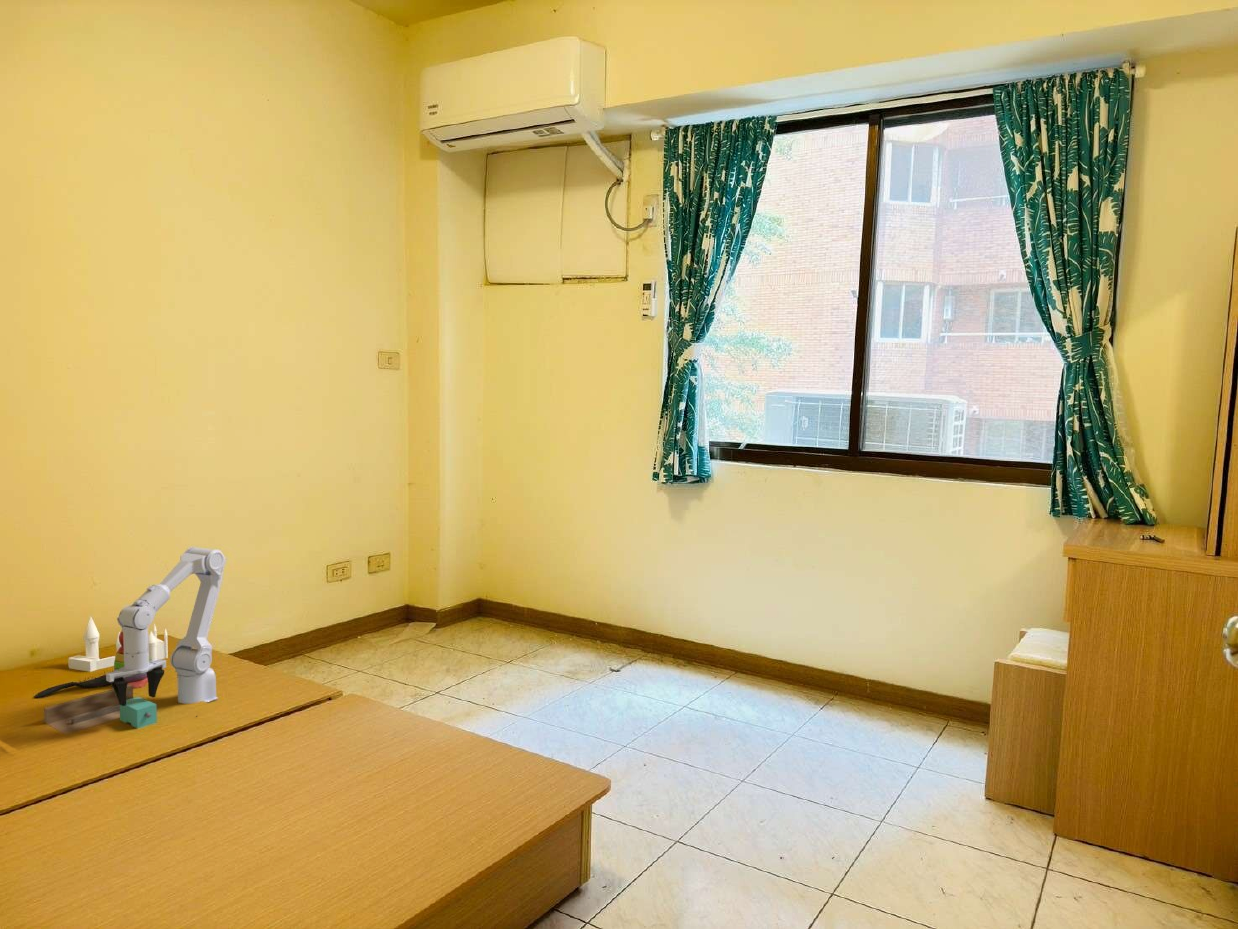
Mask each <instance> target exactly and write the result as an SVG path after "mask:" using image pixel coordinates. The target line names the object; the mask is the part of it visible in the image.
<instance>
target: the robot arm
mask: <svg viewBox="0 0 1238 929" xmlns="http://www.w3.org/2000/svg"><path fill="white" fill-rule="evenodd" d="M226 561H227V559H226V556H225V555H224V554H223V552H222V551H221V550H220V549H210V548H202V547H197V546H191V547H188V548H187V549H186V550H185V552H183V553H181V555H180V560H179V562H177V564H176V565H175V566H174V567H173V569H171V570H170V572H169V573H168V574H167V575H166V576H165V578H163V580H162V581H161V582H159V584H152V585H149V586H148V587H147V588H146V590H145V591H144V592H143V593H142V594H141V595H140V596H139V597H138V599H136V600H134V602H133V603H132V604H129V605H126V606H125V607H123V608H122V609H121V610H120V612H119V613H118V617H117V618H116V620H117V624H118V625H119V626H120V627H121V631H122V632H123V641H124V667H123V668H120V669H118V670H115V671H114V670H113V672H112V671H110V672H105V675H106V681H108V682H109V683H110V684H111V685H110V686H111V687H112V689H114V691H115V693H116V695H117V698H118V701H119V705H122V706H125V705H126V689H127V684H128V682H126V681H125V679H123V678H125V677H128V676H132V675H136V674H140V673H145V672H146V673H147V678H148V682H147V684H148V685H147V686H148V687H147V688H148V689H147V691H148V692H147V693H148V696H149V697H151V698H156V695H157V691H158V687H159V685H160V682H161V681H162V678H163V677H164V675H165V670H164V669H165V668H167V660H165V659H160V660H156V661H150V662H149V645H148V637H149V626H151V625H152V623H153V622H154V618H155V616H156V613H157V612H158V611H159V610H161V608H162V607H163V606H164V605H165V604H166V603H167V602H168V601H169V600H170V598H171V592H173V590H174V589H175V588H177V587H178V586H179V585H180V584H181V583H183V581H184V580H186V579H187V578H188V577H189V576H190V575H193V574H194V575H195V576H196V577H197V578H198V580H199V581H200V584H199V588H198V590H197V594H196V598H195V602H194V606H193V609H192V612H191V615H190V616H191V617H190V620H189V624H188V627H187V630H186V635H185V636H184V637H183V638H182V639H180V640H178V641H177V643H176V647H175V648H174V650H173V651H172V652H171V653H172V654H170V655H171V656H170V659H169V660H170V661H169V662H170V666H171V667H172V668H173V669H174V670H175V671H174V672H175V673H176V674H177V675H176V676H177V677H176V678H177V702H178V703H180V704H182V705H183V704H186V705H188V704H189V705H191V704H197V703H199V702H205V703H210V702H213V701H217V700H218V696H217V678H216V674H215V671H214V669H213V668H211V664H212V661H213V660H212V658H213V657H212V652H213V646H212V644H211V643H210V642H209V641H208V636H209V631H210V628H211V624H212V620H213V618H214V615H215V614H214V613H215V609H216V606H217V602H218V599H219V595H220V591H221V587H222V583H223V579H224V574H223V573H224V569H225V566H226Z"/></svg>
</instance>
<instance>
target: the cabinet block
mask: <svg viewBox="0 0 1238 929" xmlns="http://www.w3.org/2000/svg"><path fill="white" fill-rule="evenodd" d="M157 707H158V706H157V703H154V702H152V701H150V700H147V699H145V698H143V697H141V696H136V697H133V698H132V699H129V700H126V705H125V706H122V705H120V718H119V721H121V722H123V723H124V724H127V723H128V724H130V725H131V727H134V728H136V729H141V728H144V727H147V726H151V725H153V724H156V723H158V714H157V713H158V711H157Z"/></svg>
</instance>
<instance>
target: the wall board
mask: <svg viewBox="0 0 1238 929" xmlns="http://www.w3.org/2000/svg"><path fill="white" fill-rule="evenodd" d="M132 698H134V689H133V685H131V684H129V685H127V689H126V700H129V699H132ZM117 705H119V701H118V698H117V695H116V693H115V691H114V689H113V688H112V689H108V690H104V691H100V692H98V693H94V694H91V695H90V694H89V695H86V696H82V697H80V698H76V699H72V700H68V701H64V702H60V703H58V704H54V705H49V706H45V707H43V717H44V720H43V721H44V724H46V725H48V726H49V727H52V728H53V729H55V730H57V731H59V732H61V733H63V734H65V735H69V734H72V733H75V732H79V731H82V730H85V729H88V728H91V727H94V726H98V725H101V724H102V725H103V724H104V723H105V724H106V723H109V722H111V721H115V720H118V719H119V720H120V711H117V712H113V713H110V714H106V715H103V716H100V717H96V718H93V719H90V720H86V721H83V722H80V723H76V724H72V723H71V719H72V718H76V717H79V716H82V715H86V714H89V713H93V712H96V711H100V710H103V709H106V708H110V707H113V706H117Z"/></svg>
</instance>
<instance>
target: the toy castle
mask: <svg viewBox="0 0 1238 929" xmlns="http://www.w3.org/2000/svg"><path fill="white" fill-rule="evenodd" d="M157 632H158V630H157V626H156V623H154V624H153V629H152V630H151V631H150V632H149V633H148V645H149V657H150V661H156V660H161V659H163V660H165V659H168V658H169V656H168V654H169V653H168V650H169V649H168V648H169V646H168V632H167V628H165V629H164V633H163V637H164V641H163V640H161V639H160V638H158V635H157V634H158V633H157ZM120 633H121V631H119V632H118V635H117V638H116V641H115V646H116V652H117V651H118V650H119V648H120V647H121V644H120V642H119V635H120ZM100 636H101V635H100V633H99V631H98V628H97V626H96V623H95V621H94V619H93V618H92V616H90V618H89V620H88V623H87V627H86V630H85V632H84V634H83V639H84V640H83V641H84V643H85V644H84V646H85V655H81V654H77V655H74V656H71V657H68V661H67V662H68V669H69V670H70V669H71V670H78V671H84V672H89V673H92V672H94V671H97V670H102V669H106V668H110V667H114V661H115V656H116V655H112V656H108V657H105V658H100V654H99V653H100V652H99V641H100Z"/></svg>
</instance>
